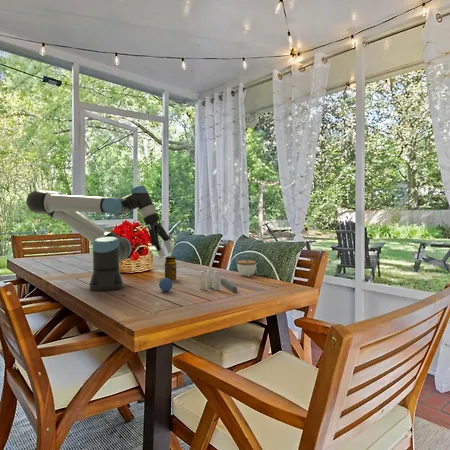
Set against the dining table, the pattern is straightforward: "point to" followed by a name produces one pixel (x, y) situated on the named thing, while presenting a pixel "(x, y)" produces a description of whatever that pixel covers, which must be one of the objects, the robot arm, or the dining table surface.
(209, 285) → the back pin left
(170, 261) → the condiment
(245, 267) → the lidded jar
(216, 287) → the back pin right
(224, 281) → the stopper bar
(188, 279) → the dining table surface
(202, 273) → the front pin
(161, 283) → the ball
